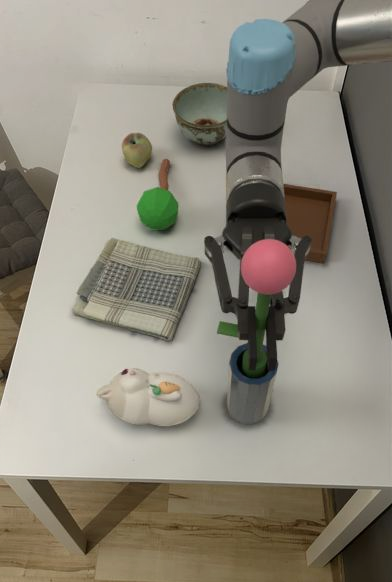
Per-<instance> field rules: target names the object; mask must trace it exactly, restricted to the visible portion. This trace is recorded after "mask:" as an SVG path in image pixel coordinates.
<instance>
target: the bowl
mask: <svg viewBox="0 0 392 582" xmlns="http://www.w3.org/2000/svg"><path fill="white" fill-rule="evenodd" d="M171 104H172V110H173V113H174V117H175V121H176V123H177V126H178V127H179V129H180V131H181V133H182V134H183V135H184V136H185V137H186V138H187V139H189V140H190V141H192V142H194V143H195V144H197V145H199V146H201V147H210V146H213V145H216V144H218V143H219V142H220V141H221V140H224V139H225V131H226V120H227V86H225V85H223V84H220V83H214V82H201V83H195V84H191V85H189V86H187V87H185V88H183V89H182V90H180V91H179V92H178V93H177V94H176V95H175V96H174V98H173V101H172V103H171Z"/></svg>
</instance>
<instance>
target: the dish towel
mask: <svg viewBox="0 0 392 582" xmlns="http://www.w3.org/2000/svg"><path fill="white" fill-rule="evenodd" d="M201 264H202V262H201V260H200V259H199V257H193V256H184V255H181V254H180V255H179V254H176V253H175V254H174V253H170V252H166V251H162V250H157V249H154V248H150V247H147V246H142V245H138V244H135V243H132V242H129V241H124V240H121V239H117V238H114V237H111V238H110V239H109V240H108V241H107V242H106V244H105V246H104V248H103V249H102V251H101V252H100V254H99V256H98V258H97V259H96V261H95V263H94V264H93V266H92V267H91V268H90V270H89V272H88V273H87V275H86V277H85V278H84V280H83V281H82V283H81V284H80V286H79V287H78V289H77V291H76V294H77V295H78V296H79V297H78V298H77V301H76V303H75V304H74V306H73V308H72V311H73V314H74V315H77V316H80V317H83V318H86V319H90V320H93V321H97V322H100V323H101V322H102V323H105V324H109V325H113V326H116V327H119V328H120V327H121V328H124V329H128V330H130V331H133V332H136V333H140V334H144V335H148V336H152V337H154V338H158V339H162V340H164V341H166V342H170V341H172V340H173V338H174V335H175V332H176V329H177V327H178V324H179V322H180V320H181V318H182V315H183V313H184V311H185V309H186V306H187V302H188V300H189V297H190V295H191V292H192V290H193V287H194V284H195V282H196V279H197V277H198V275H199V271H200V267H201Z"/></svg>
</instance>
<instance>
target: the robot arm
mask: <svg viewBox="0 0 392 582" xmlns="http://www.w3.org/2000/svg"><path fill="white" fill-rule="evenodd" d="M388 62H392V0H307V1H306V2H305V4H304V5H302V6H301V7H299V9H297V10H296V11H295V12H294V13H292V14H291V15H290V16H288V17H287V18H286V19H284V20H283V21H282V22H281V21H279V20H275V19H269V18H258V19H255V20H254V21H252V22H244V23H242V24H241V25H239V26H238V27H236V29H235V30H234V31H233V33H232V35H231V37H230V39H229V49H228V61H227V62H226V77H227V79H226V85H227V86H226V87H227V120H226V131H225V138H224V150H225V171H226V172H225V174H226V175H225V201H226V203H225V227H224V228H223V230H222V232H221V233H222V234H221V235H219V236H216V237H214V236H212V235H206V236H205V237H204V239H203V242H204V243H203V245H204V255H205V256H206V258H207V259H208V261H209V263H211V267H212V271H213V277H214V280H215V286H216V290H217V291H216V292H217V295H218V300H219V306H220V310H221V312H222V313H223V314H229V313H231V314H234V315H235V317H236V324H237V335H238V340H239V341H247V343H248V368H249V370H256V364H257V336H256V315H255V310H256V305H249V303H250V287H249V286H248V285H247V284H246V283H245V281H244V279H243V277H242V273H241V262H242V258H243V256H244V254H245V252H246V251H247V249H248V248H249V247H250V246H251V245H253V244H254V243H256V242H258V241H260V240H264V239H274V240H278V241H281V242H283V243H284V244H286V245H287V246H290V248H291V251H292V252H293V254H294V256H295V260H296V273H295V276H294V278H293V280H292V282H291V283H290V284H289V286H288V295H287V297H284V290H282V291H281V292H278V293H276V294H271V299H270V305H269V311H268V317H267V323H266V329H265V345H266V347H267V367H268V370H275V367H276V362H277V360H278V347H277V341H280V342H282V341H283V340H284V338H285V335H286V318H285V316H286V315H287V314H291V315H294V314H296V313H297V311H298V308H299V305H300V304H299V303H300V300H301V292H302V287H303V286H302V284H303V277H304V268H305V261H306V260H305V259H306V258H307V256H308V254H309V251H310V247H311V243H312V238H311V237H310V236H304V237H303V238H302V239H301V238H298V237H296V236H294V235H292V231H291V229H290V228H289V227H288V225H287V219H286V208H285V199H284V186H283V184H284V176H283V168H282V142H283V135H284V129H285V128H284V127H285V122H286V114H287V109H288V102H289V99H290V98H291V97H292V96H294V94H296V93H297V92H298V91H299V90H300V89H302V88H303V87H304V86H305V85H306V84H308V82H309V81H311V80H312V79H314V78H315V77H316V76H317V75H318V74H319V73H320V72H322V71H323V70H324V69H328V68H335V67H347V66H348V67H349V66H352V65H363V64H374V63H375V64H377V63H388ZM225 248H226V249H228V250H229V252H231V253H232V254H233V256H234V257H235V258H236V259H237V260H238V261H239V275H238V291H237V297H235V296H233V294H232V289H231V285H230V281H229V275H228V272H227V271H228V270H227V267H226V263H225V258H224V253H225Z"/></svg>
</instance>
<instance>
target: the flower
mask: <svg viewBox="0 0 392 582" xmlns="http://www.w3.org/2000/svg"><path fill="white" fill-rule="evenodd" d="M241 273H242V277H243V279H244V281H245V283H246V284H247V285H248V286H249V289H250V290H252V291H254V292H255V293H256V303H255V315H256V336H257V364H256V370H249V368H248V350H246V351H245V353H244V355H243V363H242V371H243V373H244V374H245V375H246V376H247V377H248V378H250V379H257V378H259V377H261V376H262V375H263V374H264V372H265V367H266V362H267V356H266V353H265V352H264V351H263V350H262V347H263V345H264V340H265V336H266V323H267V317H268V311H269V306H270V299H271V294H276V293H278V292H281V291H284V290H286V289H287V288H289V286H290V283H291V282H292V280H293V278H294V276H295V273H296V260H295V256H294V254H293V252H292V251H291V249H290V248H289V247H288V246H287V245H286V244H284V243H283V242H281V241H278V240H274V239H264V240H260V241H258V242H256V243H254V244H253V245H251V246H250V247H249V248H248V249H247V251H246V252H245V254H244V256H243V258H242V262H241ZM216 334H217V335H223V336H227V337H233V338H238V335H237V323H232V322H228V321H227V322H226V321H222V320H219V323H218V327H217V329H216ZM238 339H239V338H238Z"/></svg>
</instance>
